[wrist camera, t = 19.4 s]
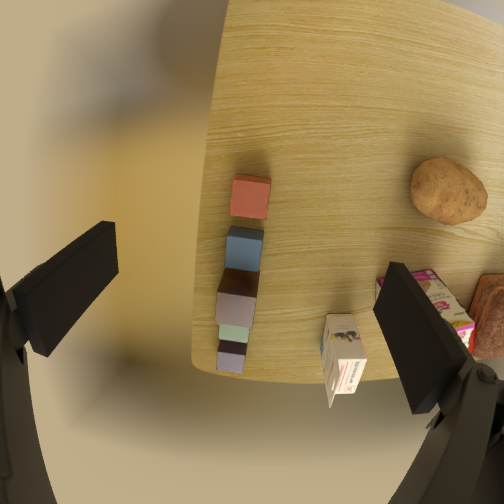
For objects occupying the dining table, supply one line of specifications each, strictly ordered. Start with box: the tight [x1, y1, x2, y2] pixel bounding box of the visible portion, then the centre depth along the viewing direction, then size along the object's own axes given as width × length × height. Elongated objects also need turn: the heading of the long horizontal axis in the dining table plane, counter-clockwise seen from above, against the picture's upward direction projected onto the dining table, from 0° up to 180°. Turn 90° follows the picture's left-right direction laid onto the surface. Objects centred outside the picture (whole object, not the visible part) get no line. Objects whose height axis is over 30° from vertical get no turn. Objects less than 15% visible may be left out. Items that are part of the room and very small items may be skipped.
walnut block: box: [215, 267, 260, 328], centre depth 46 cm, size 6×6×8 cm
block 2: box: [224, 226, 264, 272], centre depth 45 cm, size 5×5×4 cm
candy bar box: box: [376, 269, 475, 348], centre depth 40 cm, size 11×5×16 cm, turn 101°
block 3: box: [219, 324, 250, 343], centre depth 51 cm, size 5×5×4 cm
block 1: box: [229, 174, 271, 220], centre depth 41 cm, size 5×5×4 cm
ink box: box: [320, 314, 367, 407], centre depth 46 cm, size 8×5×15 cm, turn 179°
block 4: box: [216, 339, 247, 374], centre depth 54 cm, size 5×5×4 cm
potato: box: [411, 158, 488, 226], centre depth 36 cm, size 10×14×8 cm
